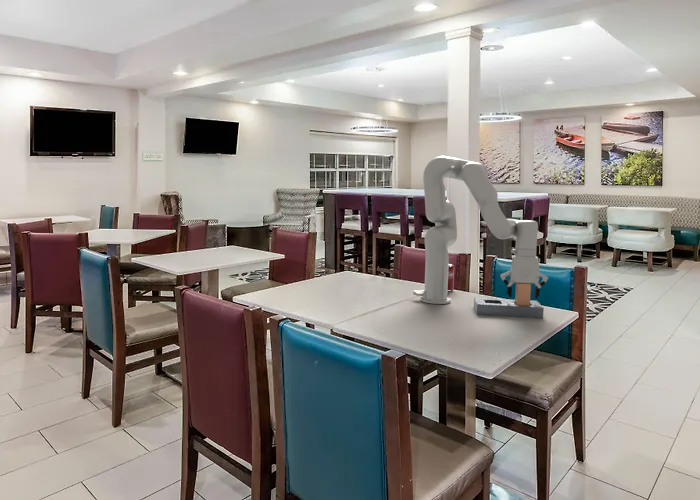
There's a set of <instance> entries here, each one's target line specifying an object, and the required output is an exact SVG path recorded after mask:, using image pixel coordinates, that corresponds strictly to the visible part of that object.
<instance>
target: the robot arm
mask: <svg viewBox="0 0 700 500" xmlns="http://www.w3.org/2000/svg"><path fill="white" fill-rule="evenodd" d="M445 178H447V179H455V180H459V181H463V182H464V184H465V186H466V187H467V188H468V190H469V192H470V194H471V196H473V198H474V200H475V202H476V203H477V206H478V208H479V211H480V214H481V216H482V218H483V221H484V223H485V224H486V226H487V228H488V229H489V231H490V233H491V234H492V235H493V236H494V237H495V238H496V239H500V240H507V239H511V238H515V247H514V249H513V248H512V249H511V254H514V255H513V256H512V259H511V264H510V265H511V266H510V270H508V271H506V272H503V273H501V274H500V278H501V280H502V282H503V284H504V285H506V295H507V296H508V297H509V298H512V295H513V287H512V285H513V284H514V283H515V284H516V283H529V284H531V285H532V284H533V285H535V286H534V294H533V297H534V299H539V297H540V291H541V288H542V287H543V286H544V285H546V283H547V281H548V279H549V277H548V276H547V275H545V274H544V273H542V272H540V263H539V262H540V261H539V256H537V245H538V243H537V242H538V233H539V231H538V230H539V224H538V221H536V220H532V219H530V220H528V219H524V220H523V219H522V220H518V219H514V218H507V217H506V216H505V214H504V213H503V211H502V209H501V207H500V204H499V201H498V200H499V199H498V198H499V194H498V192H497V191H498V190H496V188H495V187H494V185H493V183H492V182H491V180H490V179H489V170H488V168H487V167H486V165H484V164H483V163H482V162H476V161H471V160H465V159H461V158H458V157H452V156H448V155H446V156H445V155H439V156H437V157H434V158H433V159H431V160H430V161H429V162H428V163H427V165H426V166H425V168H424V170H423V178H422V181H423V190H424V206H425V207H424V208H425V217H426V219H427V220H428V221H429V222H431V223H434V224H435V226H432V227H430V228H429V229H428V230H427V231H426V233H425V235H424V248H425V250H424V251H425V262H424V263H425V266H424V267H425V268H424V288H423V289H422V290H413V296H416V297H417V296H418V297H419V296H420V301H421V302H423V303H425V304H432V305H443V304H449V303H451V302H452V299H451V298H450V297H448V292H447V290H448V267H449V264H450V262H449V261H450V259H449V258H450V256H449V247H451V246H453V245H454V244H455V243H456V241H457V238H458V229H457V228H458V226H457V213H456V212H457V211H456V208H455V206H454V204H453V203H452V202H451V201H450V200H448V199H447V198H446V187H445V183H444V179H445ZM508 276H509V280H507V279H506V277H508ZM540 278H542V280H541V281H539V280H540Z"/></svg>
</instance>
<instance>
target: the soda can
mask: <svg viewBox="0 0 700 500" xmlns="http://www.w3.org/2000/svg"><path fill="white" fill-rule="evenodd" d="M454 280H455V265H454V264H451V263H449V267H448V290H453V291H454V284H455V283H454V282H455V281H454Z"/></svg>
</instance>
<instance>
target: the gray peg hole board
mask: <svg viewBox="0 0 700 500" xmlns="http://www.w3.org/2000/svg"><path fill="white" fill-rule="evenodd" d="M473 309H474V311H475V314H476V316H477V315H479V316H497V317H498V316H499V317H511V318H512V317H514V318H515V317H517V318H529V317H535V318H534V319H544V309H545V308H544V306H543V305H541V303H540V302H539V301H538V300H531V299H530V305H515V299H512V298H511V299H510V298H508V299H507V298H506V299H505V298H489V297H487V298H486V297H473Z"/></svg>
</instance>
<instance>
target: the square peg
mask: <svg viewBox="0 0 700 500" xmlns="http://www.w3.org/2000/svg"><path fill="white" fill-rule="evenodd" d="M531 292H532V284H529V283H515V298H514V300H515V305H530V300H531Z"/></svg>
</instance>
